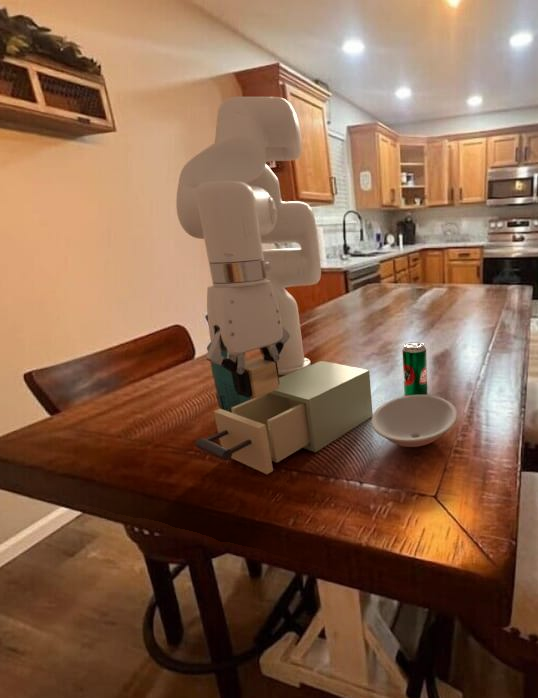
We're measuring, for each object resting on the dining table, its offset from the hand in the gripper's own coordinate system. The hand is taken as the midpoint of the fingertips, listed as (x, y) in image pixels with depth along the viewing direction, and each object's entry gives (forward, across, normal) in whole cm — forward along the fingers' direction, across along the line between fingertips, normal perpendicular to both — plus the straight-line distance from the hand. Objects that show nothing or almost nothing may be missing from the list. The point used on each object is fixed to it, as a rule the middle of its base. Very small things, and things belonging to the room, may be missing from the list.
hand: (258, 388), depth 65 cm
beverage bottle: (+12, -6, -18) cm, 23 cm away
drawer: (+11, 0, 0) cm, 11 cm away
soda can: (+12, -32, +9) cm, 36 cm away
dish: (+12, -16, +19) cm, 28 cm away
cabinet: (+12, -12, 0) cm, 17 cm away
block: (0, 0, 0) cm, 0 cm away
